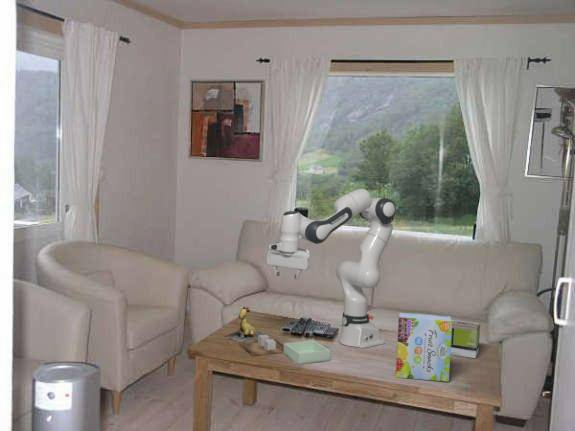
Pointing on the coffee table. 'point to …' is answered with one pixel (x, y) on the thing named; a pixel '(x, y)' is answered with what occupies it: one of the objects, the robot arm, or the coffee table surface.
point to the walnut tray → (261, 348)
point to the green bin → (306, 352)
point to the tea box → (465, 338)
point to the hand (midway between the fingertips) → (286, 277)
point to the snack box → (423, 347)
